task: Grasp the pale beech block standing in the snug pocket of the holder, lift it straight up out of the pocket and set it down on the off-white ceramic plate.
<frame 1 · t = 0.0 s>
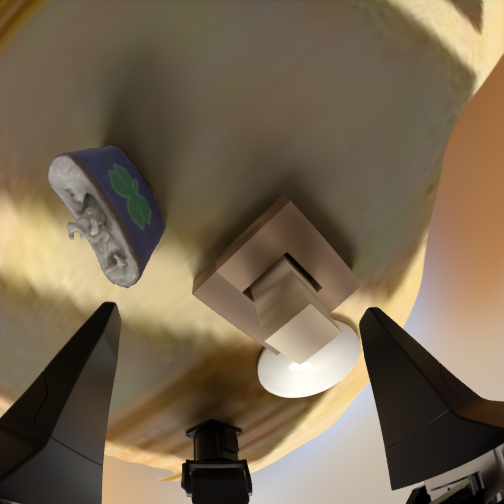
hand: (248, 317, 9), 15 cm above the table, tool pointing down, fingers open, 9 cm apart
plate: (309, 360, 32), on the table
holder: (277, 276, 27), on the table
block: (289, 302, 23), in the holder
flask: (134, 191, 22), on the table
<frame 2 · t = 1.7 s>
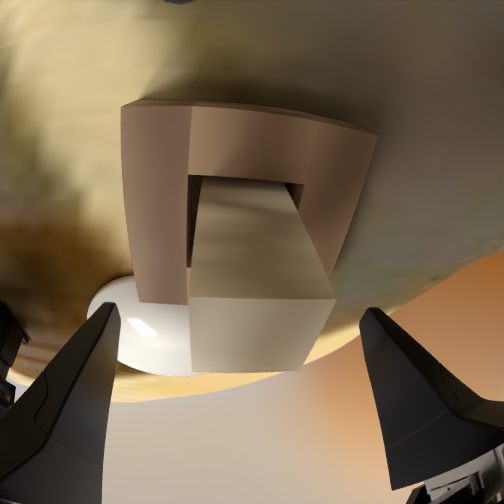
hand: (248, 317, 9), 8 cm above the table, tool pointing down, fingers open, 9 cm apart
plate: (163, 332, 22), on the table
holder: (237, 204, 15), on the table
block: (244, 253, 12), in the holder
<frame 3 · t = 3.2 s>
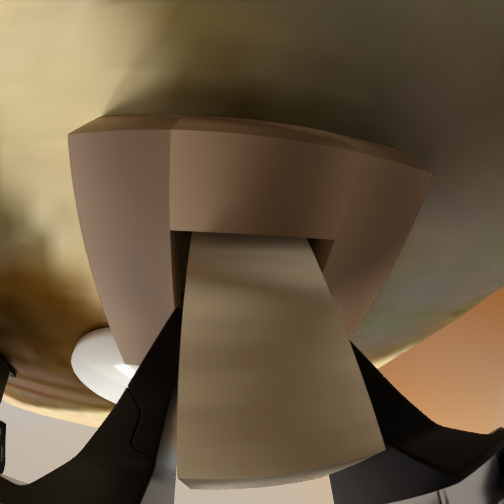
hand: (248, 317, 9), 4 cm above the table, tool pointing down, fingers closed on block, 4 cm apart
plate: (156, 378, 18), on the table
holder: (240, 252, 12), on the table
block: (251, 340, 8), in the holder, touching gripper
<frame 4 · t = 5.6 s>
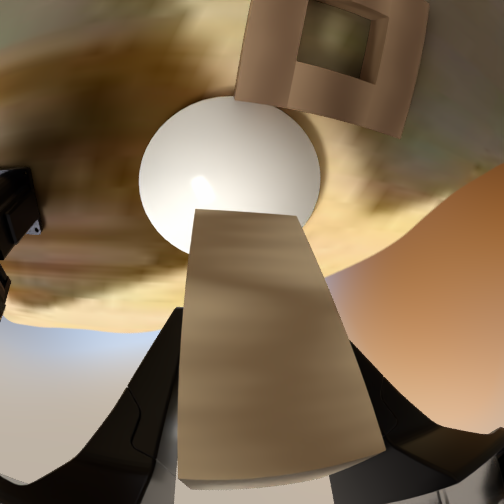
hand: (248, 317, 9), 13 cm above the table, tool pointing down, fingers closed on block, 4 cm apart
plate: (229, 184, 20), on the table
holder: (331, 38, 14), on the table
block: (251, 341, 8), point 14 cm above the table, touching gripper
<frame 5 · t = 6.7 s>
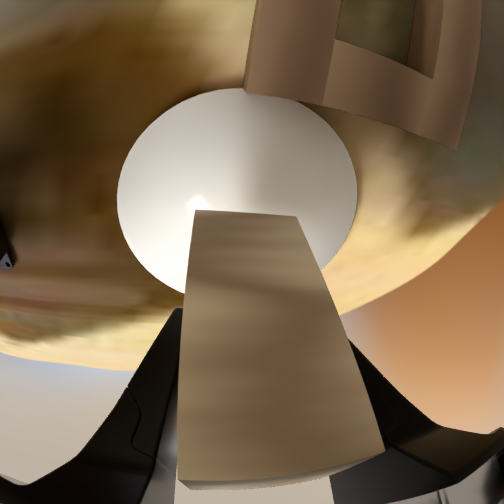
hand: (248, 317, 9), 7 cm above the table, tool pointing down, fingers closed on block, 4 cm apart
plate: (238, 209, 15), on the table
holder: (371, 15, 9), on the table
block: (251, 341, 8), point 8 cm above the table, touching gripper
when the fingers open (5 cm above the table, at t = 7.8 s): block drops 1 cm, resting on plate.
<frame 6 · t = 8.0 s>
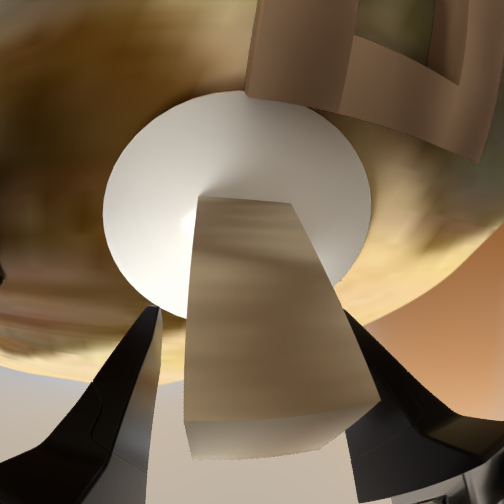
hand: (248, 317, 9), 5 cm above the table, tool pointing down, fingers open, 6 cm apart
plate: (238, 228, 14), on the table
holder: (389, 11, 7), on the table
block: (251, 313, 9), on the plate, point 5 cm above the table
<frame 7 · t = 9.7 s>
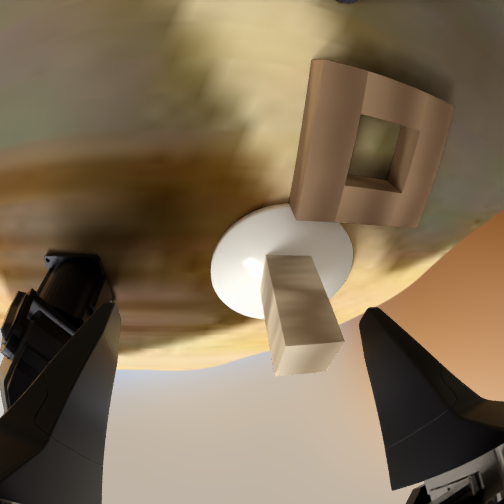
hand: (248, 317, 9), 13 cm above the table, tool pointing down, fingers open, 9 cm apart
plate: (283, 267, 25), on the table
holder: (368, 146, 19), on the table
block: (295, 311, 21), on the plate, point 5 cm above the table
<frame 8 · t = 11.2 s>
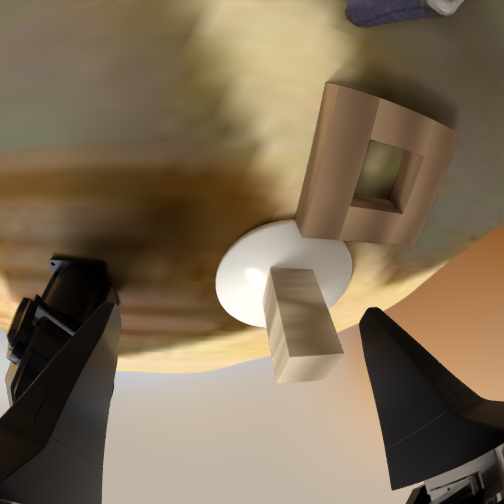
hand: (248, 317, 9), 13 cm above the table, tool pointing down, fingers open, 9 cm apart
plate: (285, 278, 26), on the table
holder: (373, 167, 20), on the table
block: (296, 322, 22), on the plate, point 5 cm above the table
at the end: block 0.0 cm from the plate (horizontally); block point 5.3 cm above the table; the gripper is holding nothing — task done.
